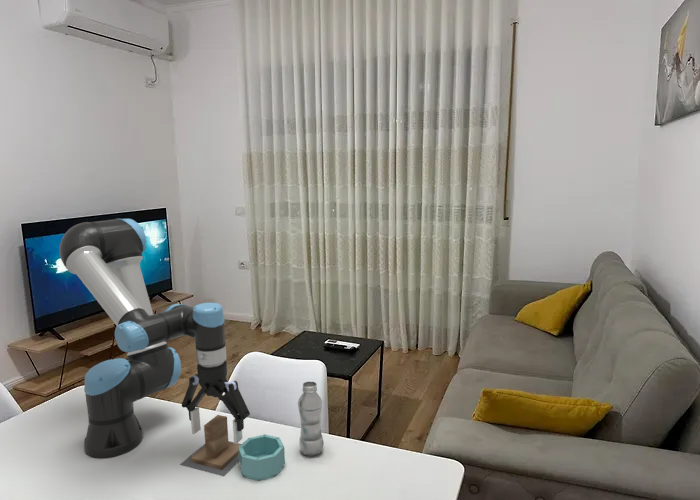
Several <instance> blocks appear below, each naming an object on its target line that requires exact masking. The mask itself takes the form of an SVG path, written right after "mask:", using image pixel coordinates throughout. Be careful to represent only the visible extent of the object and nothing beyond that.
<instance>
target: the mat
mask: <svg viewBox="0 0 700 500" xmlns="http://www.w3.org/2000/svg"><path fill="white" fill-rule="evenodd" d="M228 442H231V443H234V441H229V440H228ZM237 444H239V445H241V444H242V443H240V442H238V443H237ZM204 446H205V443H204V444H203V445H201V446H200V447H199V448H198V449H197V450H196V451H194V452H193V453H192V454H191V455H190V456H188V457H187V458H185V460H184V461H182V462H181V463H180V464H179V465H180V466H183V467H187V468H190V469H194V470H198V471H202V472H205V473H209V474H212V475H217V476H222V477H225V476H226V475H227V474H228V473H229V472H230V471H231V470H232V469H233V468H234V467H236V465H237V464H238V463H239V454H238V455H237V456H236V457H235V458H234V459H233V460H232V461H231V462H230V463H229V464H228V465H227V466H226V467H225V468H224V469H223V470H220V469H216V468H212V467H208V466H205V465H201V464H197V463H193V462H191V457H192V456H193V455H195V454H196V453H197V452H198V451H199V450H201V449H202V448H203V447H204Z"/></svg>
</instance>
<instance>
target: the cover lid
mask: <svg viewBox="0 0 700 500" xmlns="http://www.w3.org/2000/svg"><path fill="white" fill-rule="evenodd" d="M203 429H204V444H205V446H204V447H203V448H202V449H201V450H199V451H198V452H197V453H196V454H195V455H193V456H192V457H191V462H193V463H197V464H201V465H205V466H208V467H212V468H216V469H220V470H223V469H224V468H225V467H226V466H227V465H228V464H229V463H230V462H231V461H232V460H233V459H234V458H235V457H236V456H237V455H238V454H239V450H238V447H239V446H240V445H239V444H240V443H239V444H235V443H231V442H232V441H230V442H228V441H229V430H228V416H226V415H225V416H224V415H221V414H217V415H215V416H214V417H213V418H212V419H210V420H209V421H208V422H207V423H205V424H204V425H203Z"/></svg>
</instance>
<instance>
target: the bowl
mask: <svg viewBox="0 0 700 500" xmlns="http://www.w3.org/2000/svg"><path fill="white" fill-rule="evenodd" d="M240 444H241V445H240V446H239V447H238V450H239V462H238V463H239V464H238V465H239V468H240V473H241V475H242V476H244V477H245V478H247V479H249V480H252V481H262V480H263V481H264V480H269V479H271V478H274V477H276V476H277V475H279V474H280V472H281V471H283V469H284V466H285V465H286V460H285V445H284V443H283V441H282V439H281V438H280V437H278V436H274V435H270V434H266V433H265V434H261V435H256V436H252V437H248V438H247V439H245V441H243V442H242V443H240Z"/></svg>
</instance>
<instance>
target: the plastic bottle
mask: <svg viewBox="0 0 700 500" xmlns="http://www.w3.org/2000/svg"><path fill="white" fill-rule="evenodd" d="M317 384H318V383H316V381H305V382H304V383H302V390H301V391H302V393H301V395H300V396H299V398H298V401H297V407H298V413H299V421H300V436H299V450H300V451H301V452H302V454H304V455H306V456H309V457H310V456H311V457H312V456H316V455H318V454H321V452H322V451H323V449H324V437H323V433H322V426H321V425H322V423H321V422H322V421H321V420H322V416H321V415H322V408H323V407H322V406H323V401H322V400H323V399H322V398H321V396H320V395H319V394H318V392H317V391H318V385H317Z"/></svg>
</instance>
